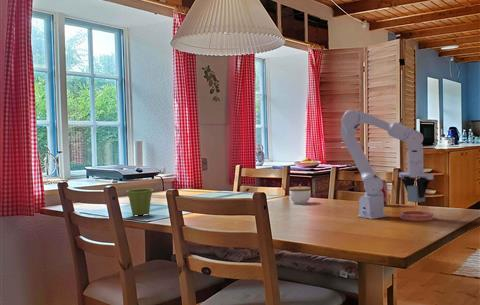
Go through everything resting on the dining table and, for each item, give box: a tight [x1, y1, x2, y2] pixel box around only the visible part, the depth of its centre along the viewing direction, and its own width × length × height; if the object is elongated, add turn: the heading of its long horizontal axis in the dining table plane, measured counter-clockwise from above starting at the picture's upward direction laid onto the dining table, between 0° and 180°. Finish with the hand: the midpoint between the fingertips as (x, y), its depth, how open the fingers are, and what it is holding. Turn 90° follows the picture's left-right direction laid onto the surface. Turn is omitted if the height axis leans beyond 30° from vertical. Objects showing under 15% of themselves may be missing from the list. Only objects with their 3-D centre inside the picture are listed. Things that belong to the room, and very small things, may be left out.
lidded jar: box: [288, 183, 312, 205], centre depth 231 cm, size 11×11×9 cm
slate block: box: [406, 184, 426, 203], centre depth 180 cm, size 4×4×6 cm
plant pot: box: [125, 188, 154, 216], centre depth 208 cm, size 12×12×11 cm
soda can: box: [381, 178, 388, 207], centre depth 216 cm, size 7×7×12 cm
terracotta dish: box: [399, 210, 434, 222], centre depth 180 cm, size 12×12×2 cm
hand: (416, 197), depth 180 cm, fingers closed on slate block, 4 cm apart
